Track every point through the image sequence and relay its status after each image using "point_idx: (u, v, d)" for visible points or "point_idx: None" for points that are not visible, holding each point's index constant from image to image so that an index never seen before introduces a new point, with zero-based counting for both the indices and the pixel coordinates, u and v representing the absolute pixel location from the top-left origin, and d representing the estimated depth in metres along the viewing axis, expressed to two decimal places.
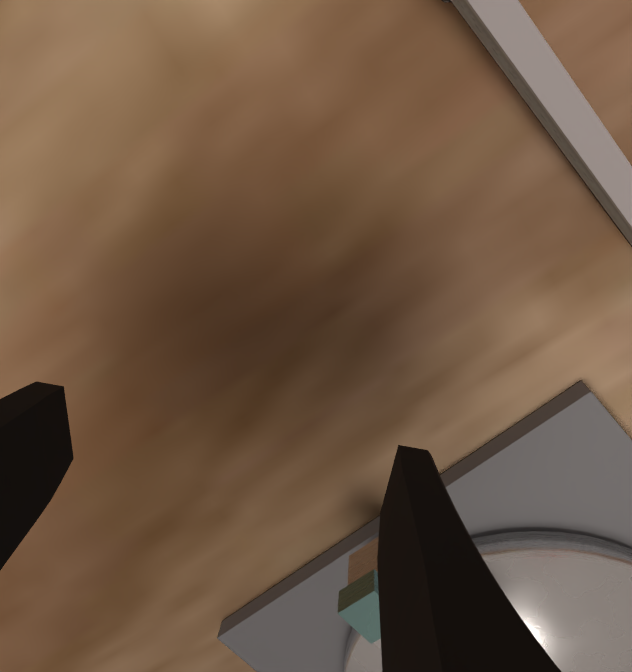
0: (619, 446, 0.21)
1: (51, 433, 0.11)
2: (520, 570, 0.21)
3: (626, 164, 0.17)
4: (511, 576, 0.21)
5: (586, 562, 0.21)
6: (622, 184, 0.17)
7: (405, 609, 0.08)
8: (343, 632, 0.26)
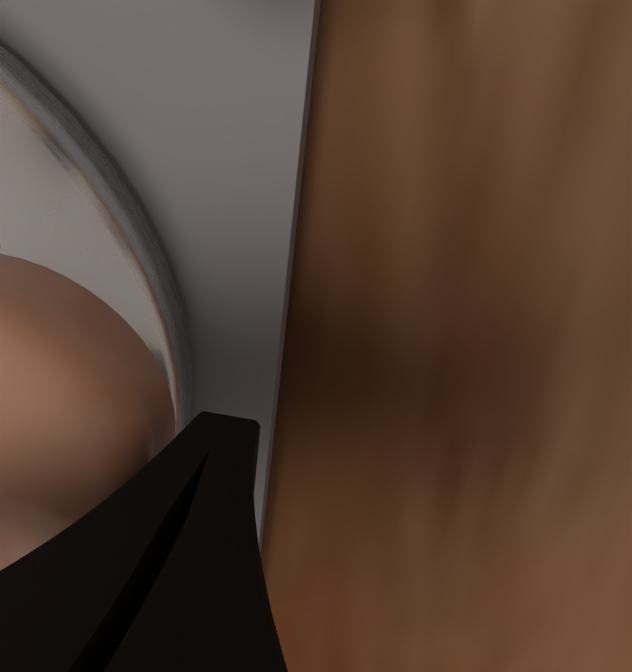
0: None
1: None
2: None
3: None
4: None
5: None
6: None
7: None
8: None
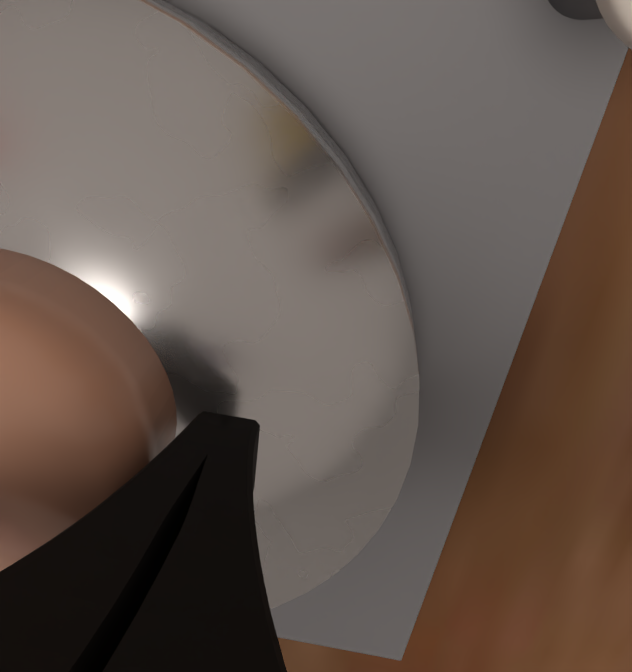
0: None
1: None
2: None
3: None
4: None
5: None
6: None
7: None
8: None
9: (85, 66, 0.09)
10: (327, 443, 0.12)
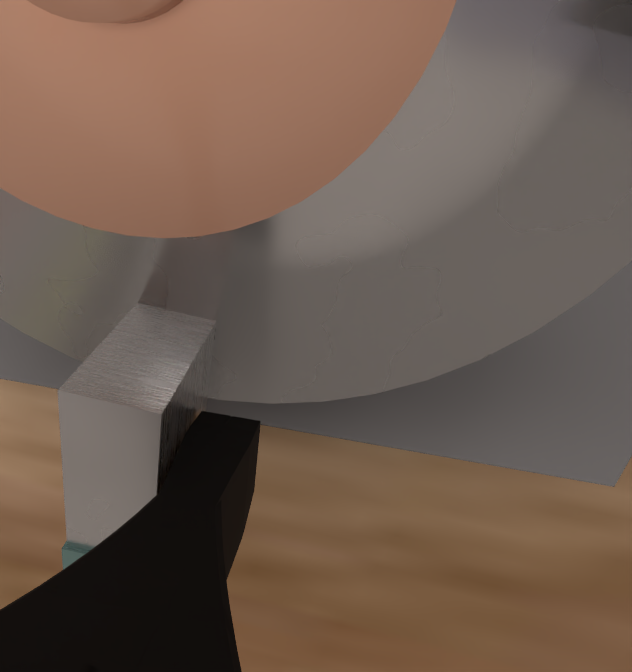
0: None
1: (251, 469, 0.11)
2: None
3: None
4: None
5: None
6: None
7: None
8: None
9: None
10: None
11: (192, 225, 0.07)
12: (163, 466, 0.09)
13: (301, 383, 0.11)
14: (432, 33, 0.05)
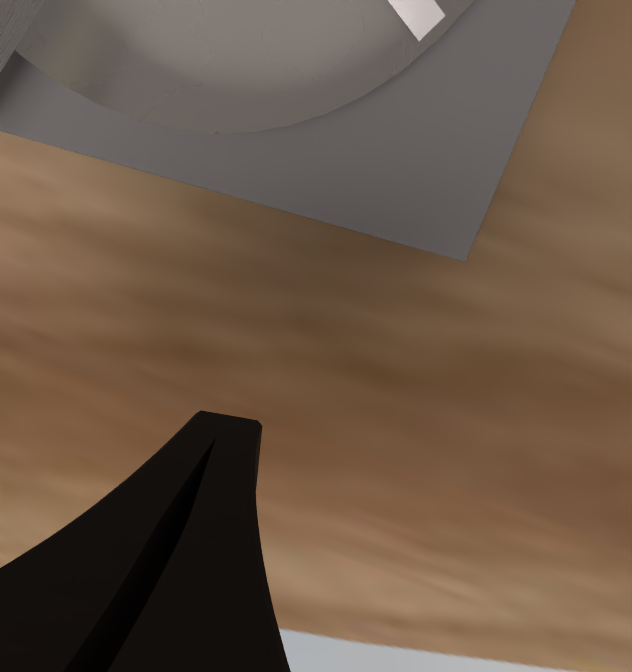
0: None
1: None
2: None
3: None
4: None
5: None
6: None
7: None
8: (341, 109, 0.16)
9: None
10: None
11: None
12: None
13: (89, 80, 0.15)
14: None
